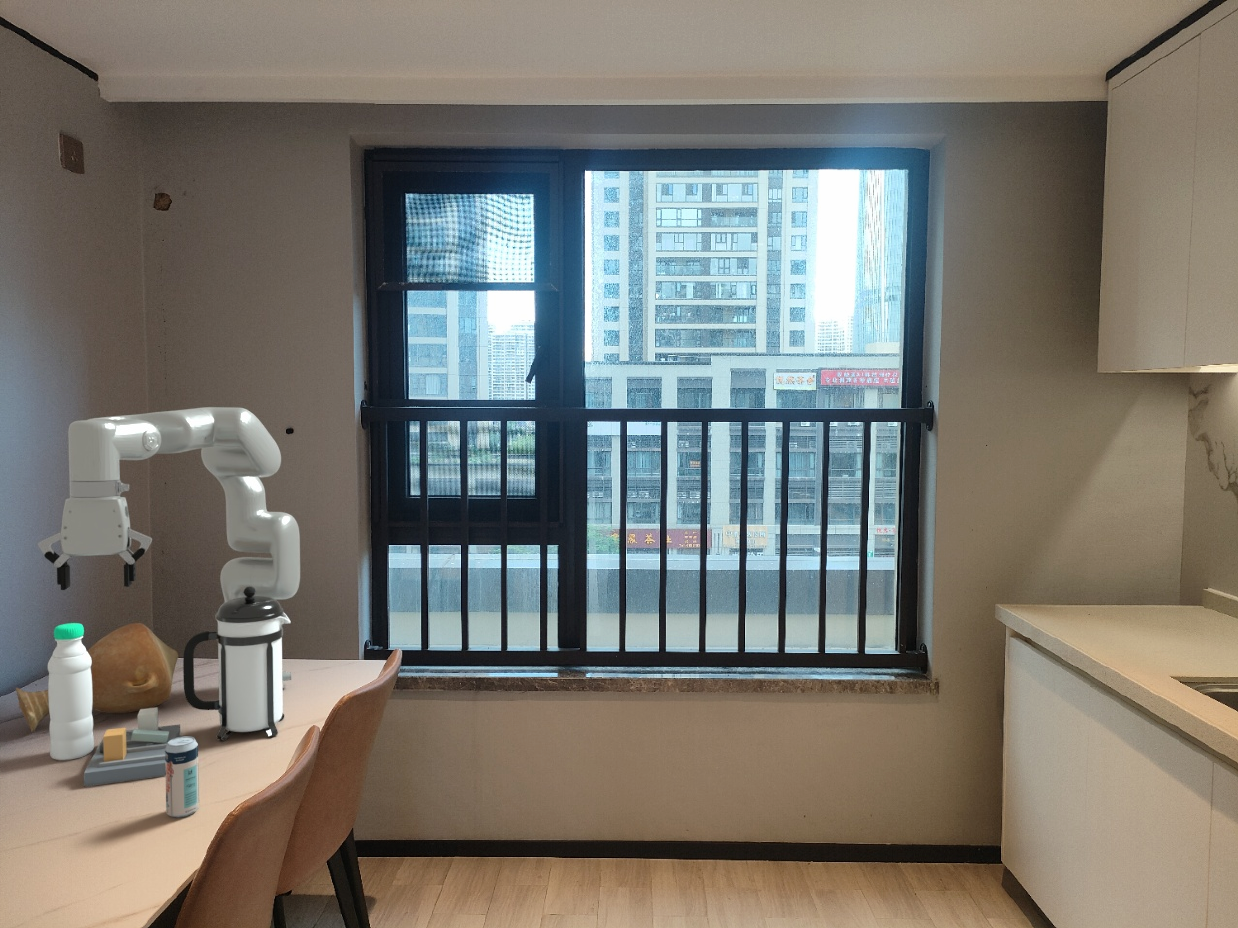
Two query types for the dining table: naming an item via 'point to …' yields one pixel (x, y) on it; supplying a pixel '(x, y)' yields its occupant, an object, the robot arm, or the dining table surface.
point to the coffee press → (244, 665)
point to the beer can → (182, 776)
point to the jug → (118, 675)
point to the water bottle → (70, 695)
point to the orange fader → (114, 744)
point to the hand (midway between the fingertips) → (97, 586)
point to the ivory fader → (148, 719)
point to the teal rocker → (150, 735)
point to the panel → (130, 761)
